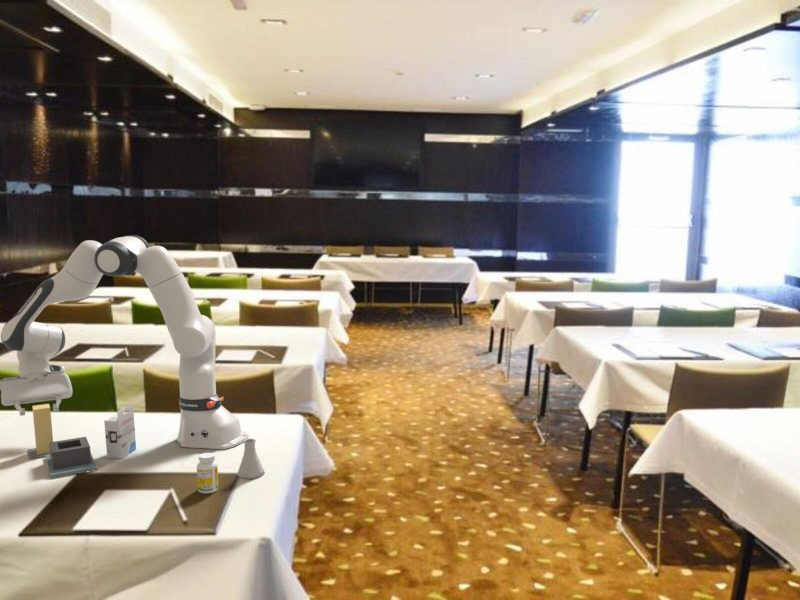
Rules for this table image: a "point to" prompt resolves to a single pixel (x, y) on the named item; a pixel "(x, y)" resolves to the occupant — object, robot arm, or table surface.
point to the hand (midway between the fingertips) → (39, 412)
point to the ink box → (120, 433)
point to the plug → (42, 428)
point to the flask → (250, 462)
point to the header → (70, 453)
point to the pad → (35, 454)
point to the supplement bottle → (207, 473)
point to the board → (70, 468)
